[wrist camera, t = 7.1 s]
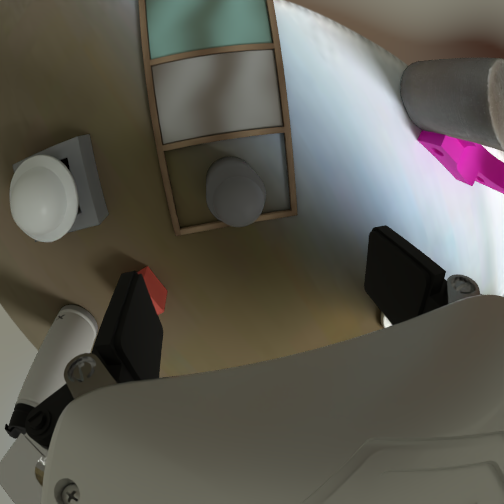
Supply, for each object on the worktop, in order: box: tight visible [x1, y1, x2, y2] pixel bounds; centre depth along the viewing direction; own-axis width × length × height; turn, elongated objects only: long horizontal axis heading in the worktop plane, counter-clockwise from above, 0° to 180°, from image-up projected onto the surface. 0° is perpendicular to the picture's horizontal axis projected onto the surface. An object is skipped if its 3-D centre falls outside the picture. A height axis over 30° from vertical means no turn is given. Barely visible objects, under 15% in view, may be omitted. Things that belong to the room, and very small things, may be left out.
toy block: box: [418, 130, 504, 194], centre depth 26 cm, size 15×6×8 cm, turn 65°
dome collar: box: [13, 134, 109, 242], centre depth 23 cm, size 9×9×3 cm
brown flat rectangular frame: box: [139, 0, 297, 236], centre depth 23 cm, size 13×28×1 cm, turn 7°
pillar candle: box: [401, 58, 504, 151], centre depth 19 cm, size 10×10×15 cm
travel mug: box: [5, 305, 98, 438], centre depth 24 cm, size 6×7×20 cm
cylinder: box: [206, 157, 266, 227], centre depth 23 cm, size 5×5×10 cm
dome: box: [9, 155, 79, 242], centre depth 20 cm, size 8×8×7 cm
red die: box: [137, 266, 167, 315], centre depth 30 cm, size 4×4×4 cm
